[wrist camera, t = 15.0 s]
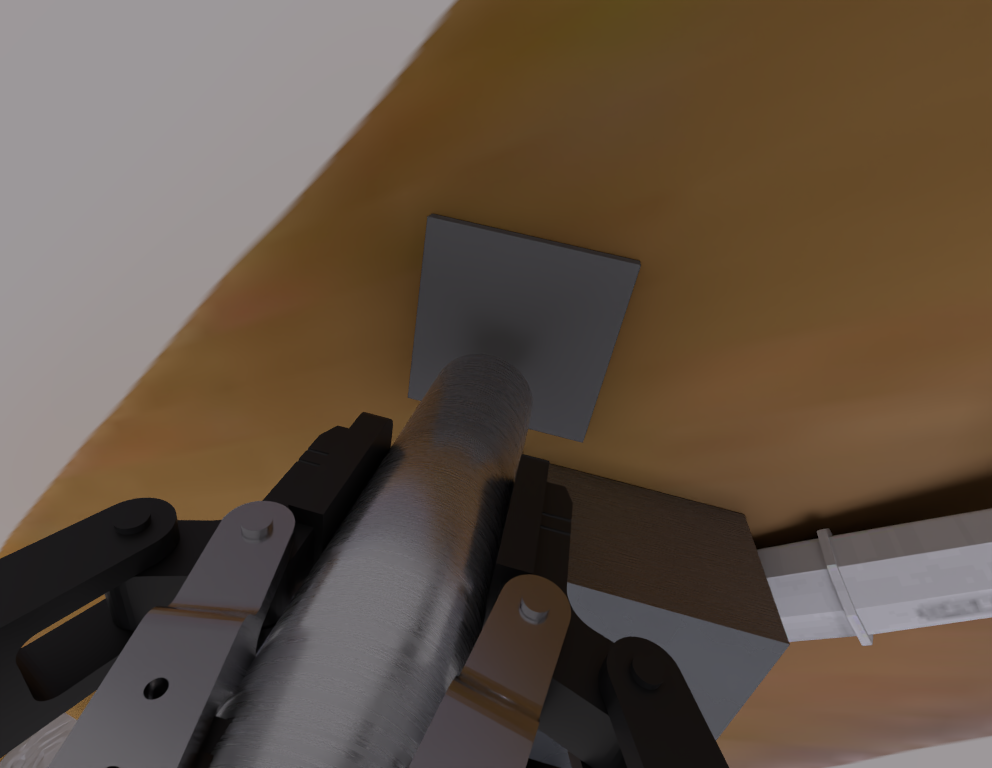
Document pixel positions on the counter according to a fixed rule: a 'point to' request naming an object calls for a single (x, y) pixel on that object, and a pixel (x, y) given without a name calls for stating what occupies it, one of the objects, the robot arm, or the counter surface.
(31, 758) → the decorative block
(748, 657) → the block
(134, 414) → the counter surface
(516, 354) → the key rest mat
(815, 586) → the white elongated piece
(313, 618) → the grey metal cylinder
